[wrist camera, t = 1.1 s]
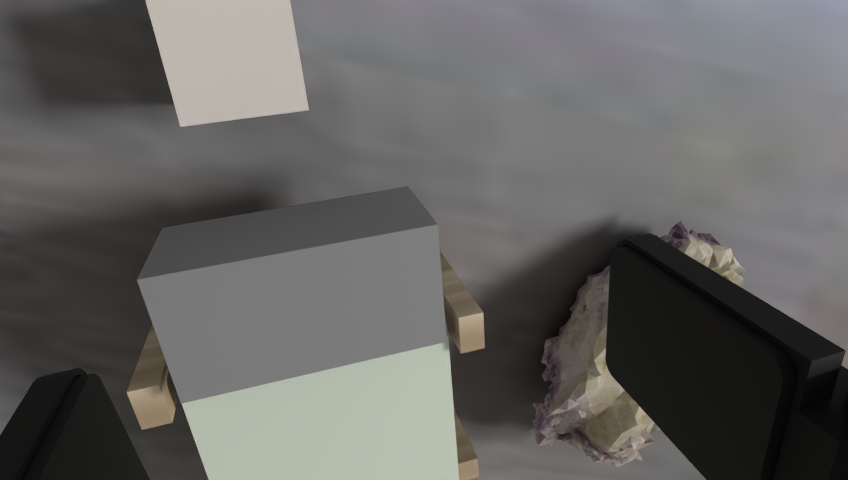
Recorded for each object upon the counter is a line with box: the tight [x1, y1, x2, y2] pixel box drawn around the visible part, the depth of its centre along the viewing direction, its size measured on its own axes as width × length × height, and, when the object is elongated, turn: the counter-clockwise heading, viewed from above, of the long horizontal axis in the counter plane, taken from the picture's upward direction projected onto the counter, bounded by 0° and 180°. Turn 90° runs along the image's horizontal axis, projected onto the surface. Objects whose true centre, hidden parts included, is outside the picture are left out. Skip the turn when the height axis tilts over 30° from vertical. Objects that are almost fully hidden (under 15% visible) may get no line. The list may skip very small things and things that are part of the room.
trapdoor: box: [137, 187, 459, 480], centre depth 26 cm, size 20×12×5 cm, turn 5°
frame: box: [127, 252, 485, 480], centre depth 29 cm, size 13×15×9 cm
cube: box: [145, 0, 309, 127], centre depth 23 cm, size 5×5×6 cm
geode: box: [530, 221, 745, 467], centre depth 36 cm, size 17×9×15 cm
